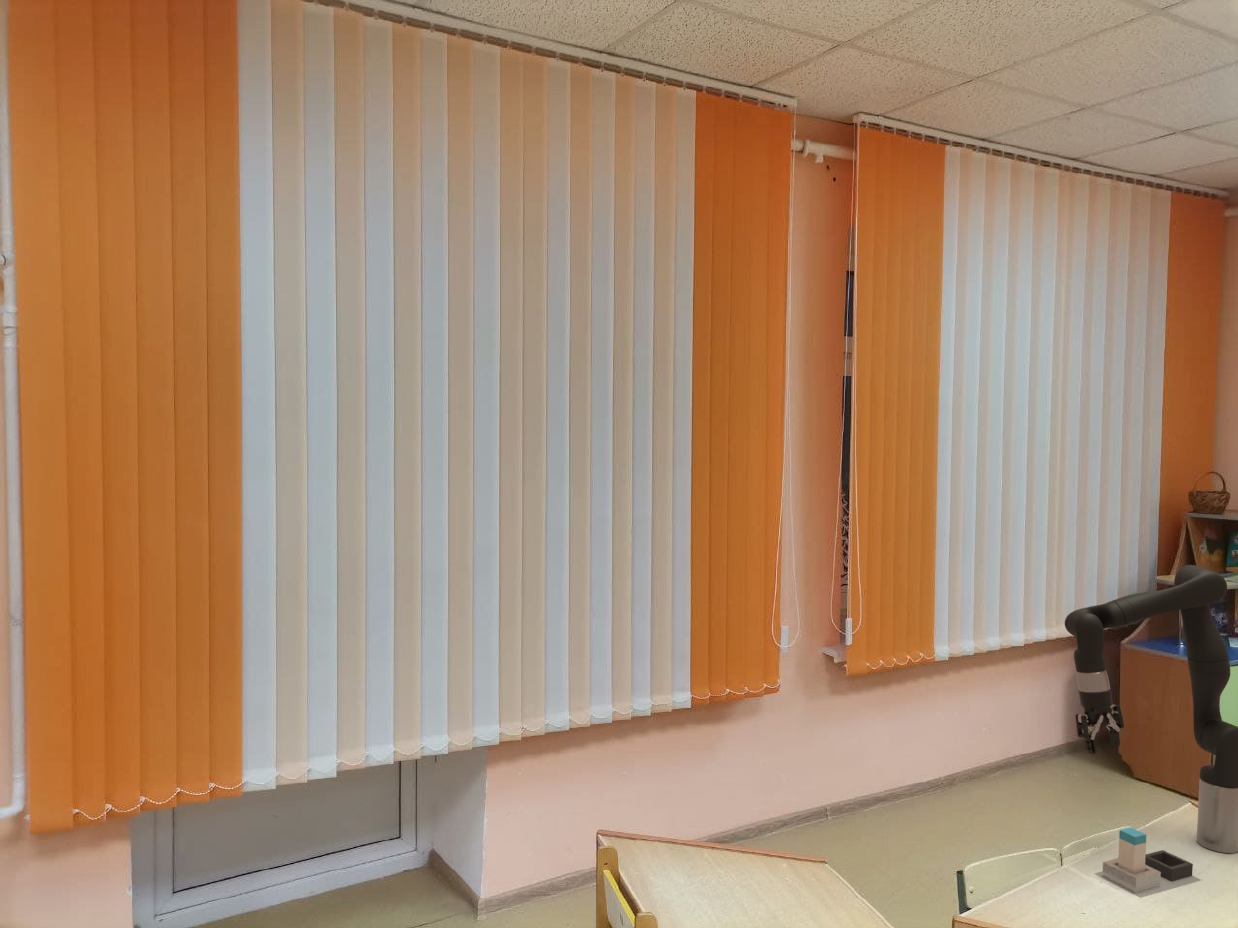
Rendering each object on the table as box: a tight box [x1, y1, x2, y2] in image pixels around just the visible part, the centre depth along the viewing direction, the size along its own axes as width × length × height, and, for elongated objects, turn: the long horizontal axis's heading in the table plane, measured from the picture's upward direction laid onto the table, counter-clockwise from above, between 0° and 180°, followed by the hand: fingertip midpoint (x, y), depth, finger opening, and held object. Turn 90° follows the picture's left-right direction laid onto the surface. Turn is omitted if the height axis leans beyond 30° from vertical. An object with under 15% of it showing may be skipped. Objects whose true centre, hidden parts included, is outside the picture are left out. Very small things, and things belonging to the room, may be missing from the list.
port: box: [1102, 857, 1161, 893], centre depth 213 cm, size 9×9×4 cm
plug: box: [1117, 827, 1147, 875], centre depth 213 cm, size 4×4×12 cm
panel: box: [1094, 870, 1202, 899], centre depth 215 cm, size 22×12×1 cm, turn 114°
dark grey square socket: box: [1145, 849, 1194, 882], centre depth 218 cm, size 8×8×3 cm
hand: (1104, 749), depth 231 cm, fingers open, 8 cm apart
